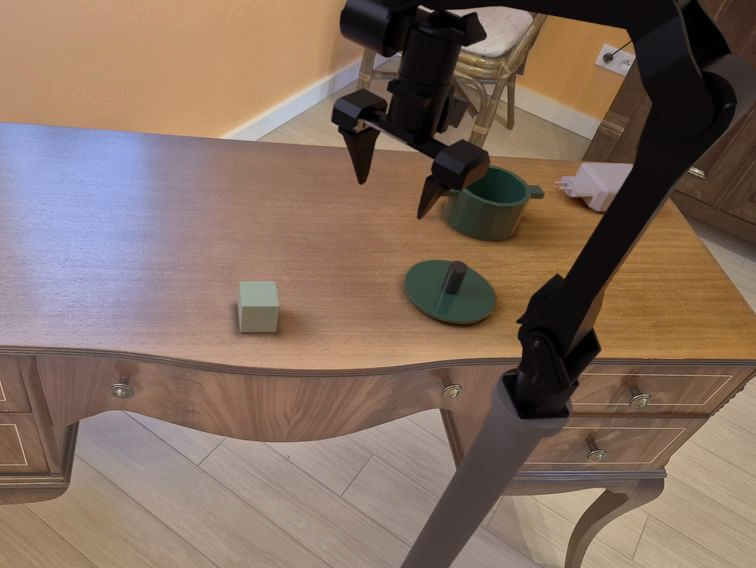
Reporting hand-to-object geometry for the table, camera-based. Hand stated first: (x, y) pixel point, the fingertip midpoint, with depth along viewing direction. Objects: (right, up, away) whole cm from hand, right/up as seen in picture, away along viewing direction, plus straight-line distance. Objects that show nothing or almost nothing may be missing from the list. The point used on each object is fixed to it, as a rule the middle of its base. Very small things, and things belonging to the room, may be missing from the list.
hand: (390, 200), depth 76 cm
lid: (+9, -10, +9) cm, 17 cm away
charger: (+40, +8, +31) cm, 51 cm away
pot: (+18, +3, +23) cm, 29 cm away
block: (-17, -15, +2) cm, 22 cm away
